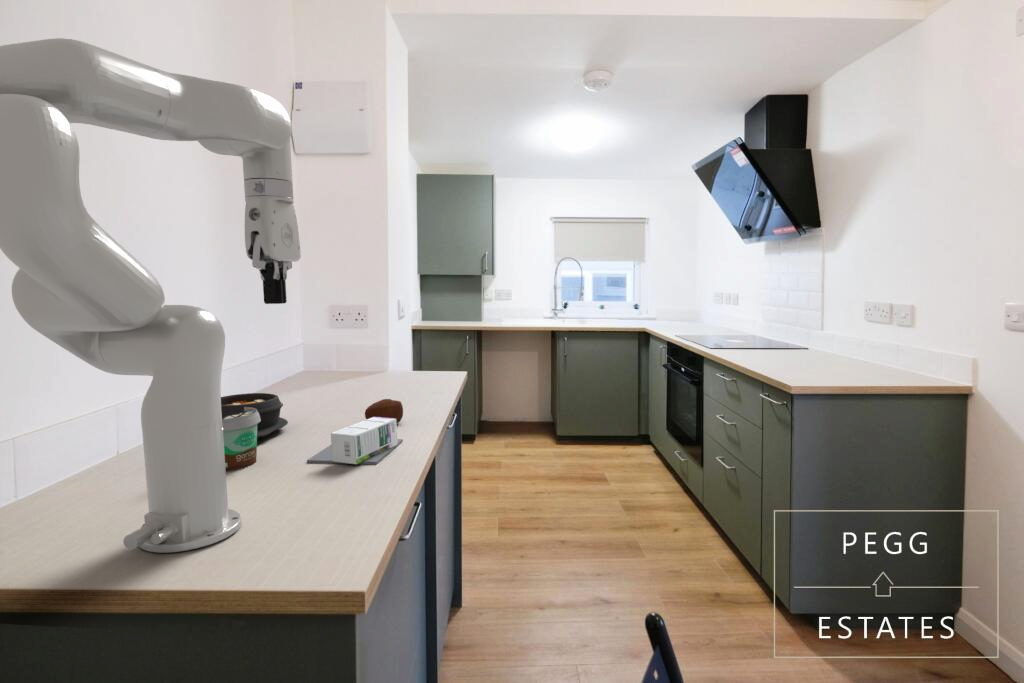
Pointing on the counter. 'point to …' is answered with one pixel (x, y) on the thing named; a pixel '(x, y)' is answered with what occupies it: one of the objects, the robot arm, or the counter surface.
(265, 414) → the casserole
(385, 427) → the syrup box
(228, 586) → the counter surface
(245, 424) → the food container
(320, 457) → the mat
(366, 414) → the potato
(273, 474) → the counter surface
